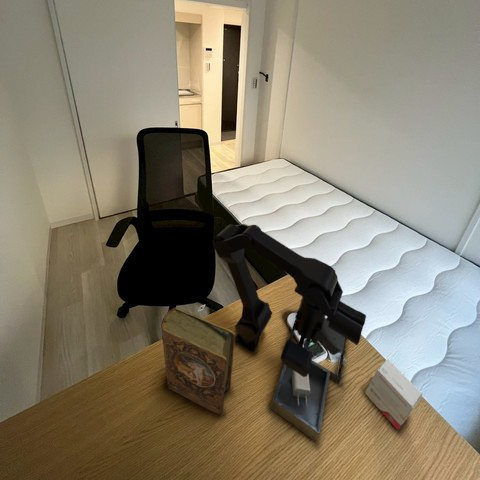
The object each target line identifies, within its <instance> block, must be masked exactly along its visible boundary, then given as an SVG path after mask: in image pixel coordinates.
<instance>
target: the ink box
mask: <svg viewBox="0 0 480 480" xmlns="http://www.w3.org/2000/svg"><path fill="white" fill-rule="evenodd" d="M365 395H366V396H367V397H368V399H370V401H371V402H372V403H373V404H374V405H375V406H376V408H377V409H378V410H379V411H380V412H381V413H382V415H384V417H385V418H387V420H388V421H389V422H390V423H391V425H392V426H393V427H394V428H395V429H396V430H398V431H399V430H400V428H401V427H402V425H403V424H404V423H405V422H406V420H407V418H408V417H409V416H410V414H411V413H412V412H413V410H414V409H415V407H416V406H417V404H418V403H419V401H420V399H421V398H422V396H423V393H422V392H421V391H420V390H419V388H417V387H416V386H415V385H414V383H412V382H411V381H410V379H409V378H407V377H406V376H405V374H403V373H402V371H400V369H399V368H398V367H397V366H395V365H394V363H392V362H391V361H390V359H388V358H387V359H385V361H383V362H382V363H381V364H380V366H379V367H378V368H377V369H376V371H375V373H374V375H373V377H372V378H371V380H370V382H369V385H368V387H367V388H366V390H365Z"/></svg>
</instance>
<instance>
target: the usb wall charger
mask: <svg viewBox="0 0 480 480" xmlns="http://www.w3.org/2000/svg"><path fill="white" fill-rule="evenodd" d="M292 389H293V395H294V396H297V399H298V406H299V397H303V398H305V399H306V408H307V398H308V397H309V394H310V384H309V376H308V375H307V376H306V377H303V376H301V375H300V374H298V373H297V372H295V371H294V370H293V371H292Z"/></svg>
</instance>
